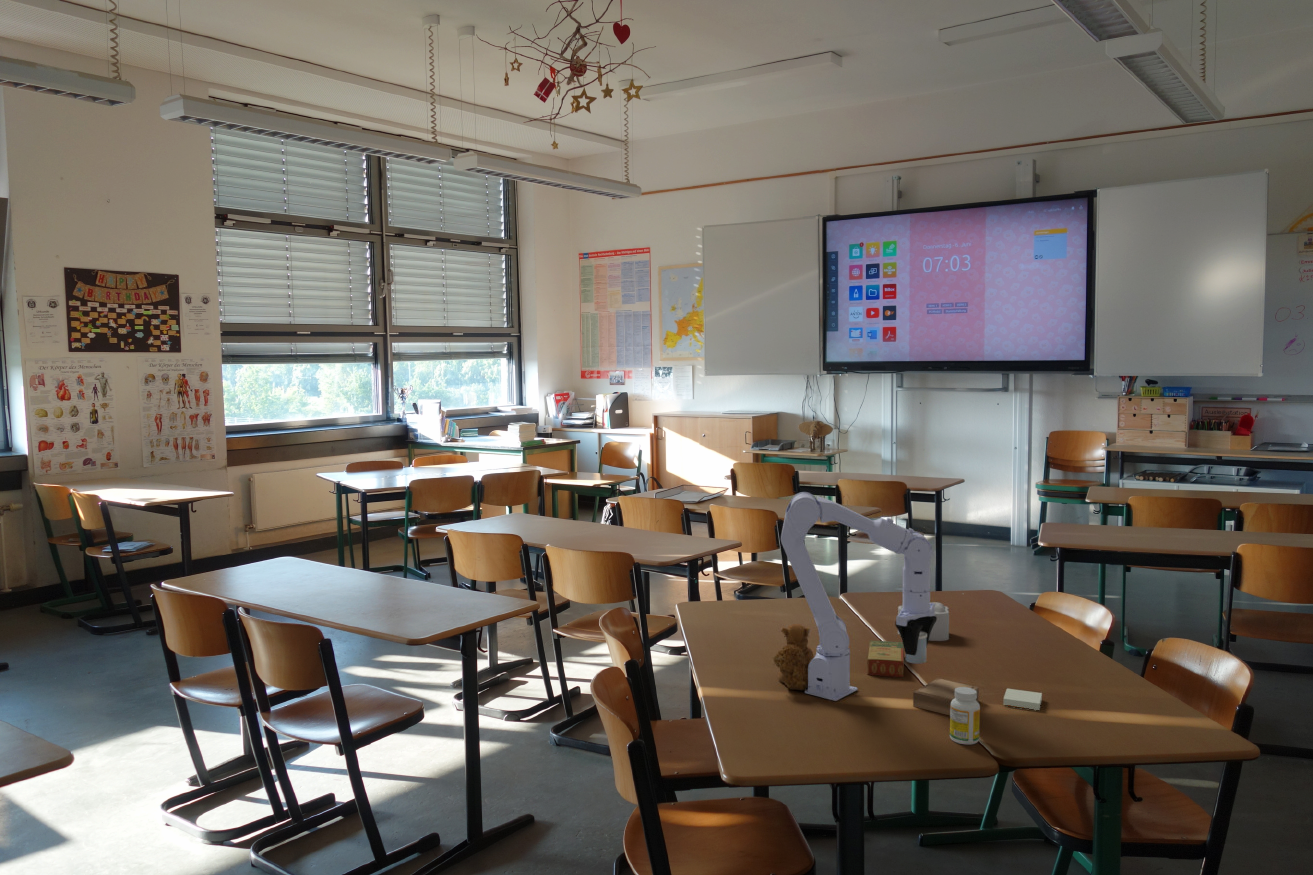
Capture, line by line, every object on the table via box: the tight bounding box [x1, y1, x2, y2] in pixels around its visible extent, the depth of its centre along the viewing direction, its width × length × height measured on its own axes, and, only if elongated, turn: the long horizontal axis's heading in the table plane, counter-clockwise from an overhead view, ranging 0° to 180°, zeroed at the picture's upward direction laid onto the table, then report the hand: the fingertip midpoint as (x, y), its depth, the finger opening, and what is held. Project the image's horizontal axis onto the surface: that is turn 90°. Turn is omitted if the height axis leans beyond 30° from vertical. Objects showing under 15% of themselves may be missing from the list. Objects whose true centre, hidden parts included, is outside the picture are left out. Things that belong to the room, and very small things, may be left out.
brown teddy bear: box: [772, 623, 815, 692], centre depth 209 cm, size 10×14×13 cm
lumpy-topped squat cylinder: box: [897, 601, 950, 642], centre depth 248 cm, size 10×13×9 cm
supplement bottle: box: [949, 687, 981, 746], centre depth 177 cm, size 5×5×10 cm
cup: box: [904, 631, 927, 665], centre depth 201 cm, size 5×5×6 cm
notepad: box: [1002, 688, 1043, 711], centre depth 197 cm, size 7×7×2 cm
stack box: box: [912, 677, 980, 716], centre depth 196 cm, size 12×9×3 cm
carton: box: [866, 640, 905, 678], centre depth 222 cm, size 8×16×4 cm, turn 165°
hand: (915, 651), depth 201 cm, fingers closed on cup, 4 cm apart
